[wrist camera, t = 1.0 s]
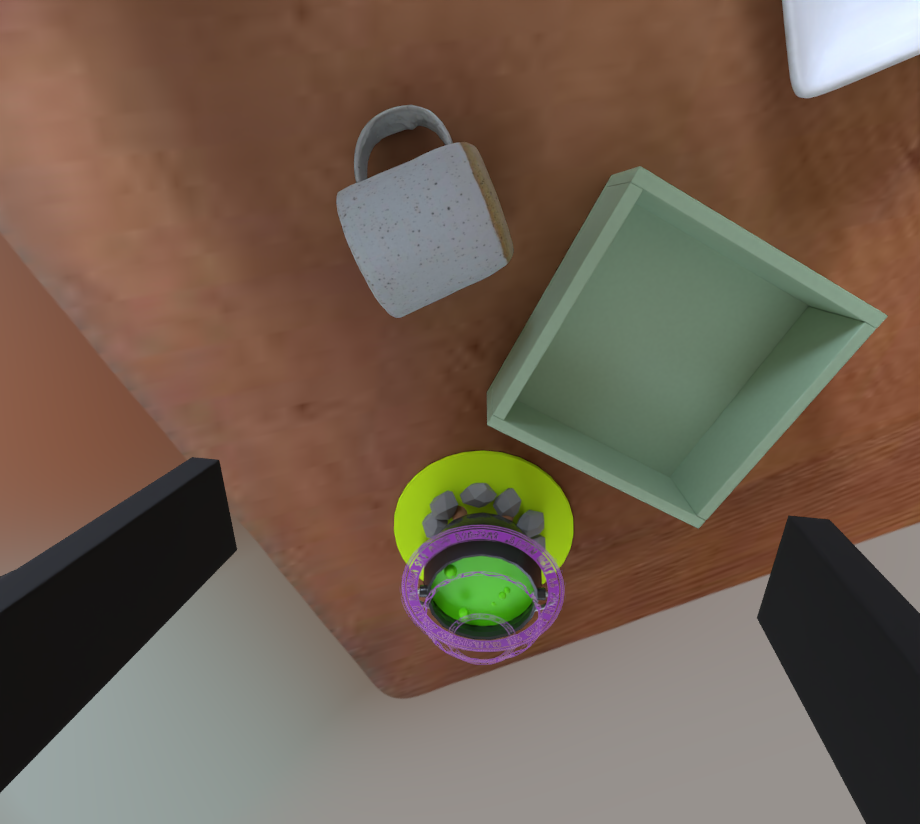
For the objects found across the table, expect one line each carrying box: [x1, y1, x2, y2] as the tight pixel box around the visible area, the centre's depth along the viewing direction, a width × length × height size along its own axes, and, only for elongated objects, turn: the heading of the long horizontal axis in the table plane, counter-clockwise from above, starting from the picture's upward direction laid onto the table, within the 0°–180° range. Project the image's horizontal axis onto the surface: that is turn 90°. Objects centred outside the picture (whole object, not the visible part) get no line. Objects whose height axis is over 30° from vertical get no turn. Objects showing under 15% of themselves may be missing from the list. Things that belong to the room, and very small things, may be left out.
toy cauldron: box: [394, 451, 573, 665], centre depth 34 cm, size 15×15×11 cm
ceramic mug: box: [336, 105, 514, 318], centre depth 26 cm, size 11×8×8 cm
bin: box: [487, 166, 887, 528], centre depth 30 cm, size 16×16×6 cm
